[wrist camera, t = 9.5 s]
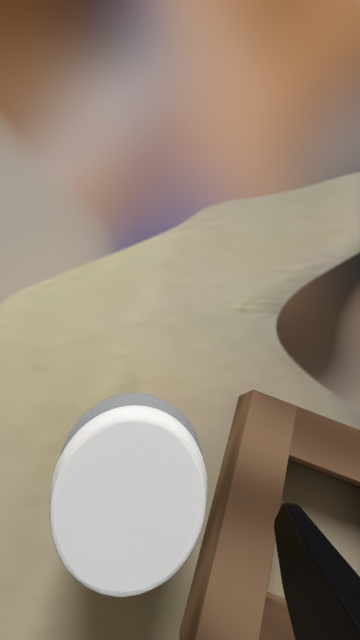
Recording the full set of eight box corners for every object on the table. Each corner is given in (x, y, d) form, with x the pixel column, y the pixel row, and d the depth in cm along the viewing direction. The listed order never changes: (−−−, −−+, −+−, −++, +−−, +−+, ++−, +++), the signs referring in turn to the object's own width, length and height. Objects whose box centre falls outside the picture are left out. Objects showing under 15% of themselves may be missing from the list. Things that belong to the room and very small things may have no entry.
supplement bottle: (170, 410, 18) (209, 377, 9) (189, 511, 16) (261, 599, 7) (78, 429, 17) (16, 412, 8) (86, 540, 15) (17, 689, 6)
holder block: (409, 719, 14) (461, 771, 12) (180, 631, 14) (188, 666, 12) (409, 461, 19) (446, 463, 17) (239, 396, 19) (253, 389, 17)
